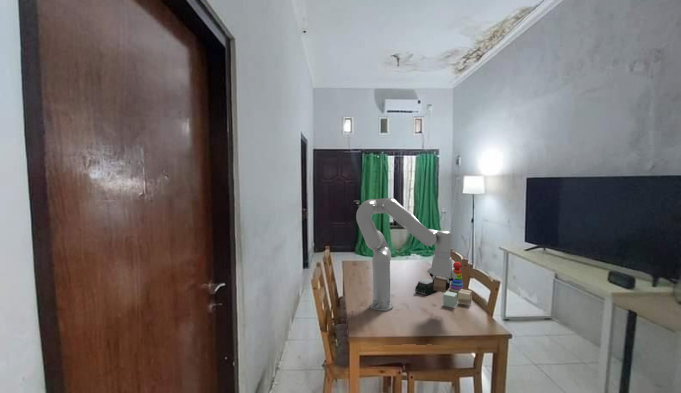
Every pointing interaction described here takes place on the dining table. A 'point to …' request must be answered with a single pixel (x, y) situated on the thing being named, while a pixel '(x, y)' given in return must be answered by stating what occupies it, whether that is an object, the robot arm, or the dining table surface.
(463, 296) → the beech block
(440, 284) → the walnut block
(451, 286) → the stacking toy
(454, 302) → the sage block
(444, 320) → the dining table surface
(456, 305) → the blueprint mat
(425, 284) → the miniature car
